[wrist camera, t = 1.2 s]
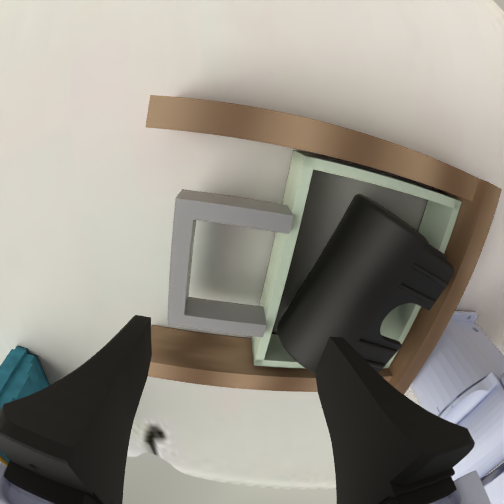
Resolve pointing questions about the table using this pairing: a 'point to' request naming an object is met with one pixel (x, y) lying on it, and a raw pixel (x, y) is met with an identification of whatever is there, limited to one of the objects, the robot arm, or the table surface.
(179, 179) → the table surface
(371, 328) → the end cap
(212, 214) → the pull tray
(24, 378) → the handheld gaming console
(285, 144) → the brown wooden frame
